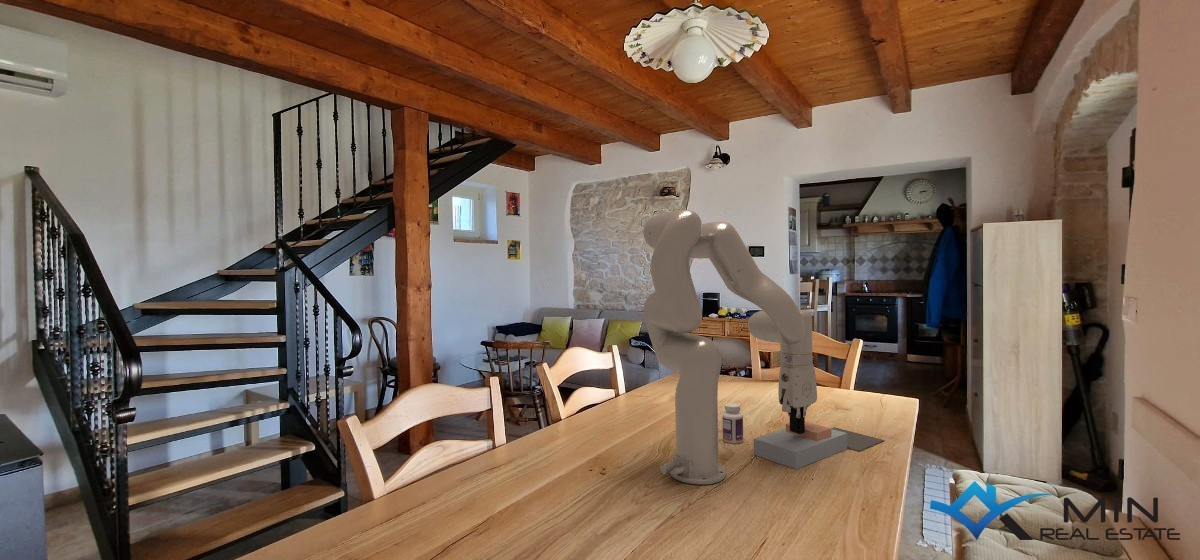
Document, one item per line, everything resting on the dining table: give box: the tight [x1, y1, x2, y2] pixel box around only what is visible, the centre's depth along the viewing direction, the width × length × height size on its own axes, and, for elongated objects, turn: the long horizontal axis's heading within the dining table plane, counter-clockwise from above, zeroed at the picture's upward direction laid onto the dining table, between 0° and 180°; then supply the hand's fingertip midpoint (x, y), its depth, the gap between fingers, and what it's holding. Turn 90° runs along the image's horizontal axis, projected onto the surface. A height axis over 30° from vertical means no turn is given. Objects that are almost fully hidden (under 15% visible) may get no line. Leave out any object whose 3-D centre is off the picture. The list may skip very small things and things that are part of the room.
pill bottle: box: [721, 402, 744, 444], centre depth 139 cm, size 5×5×10 cm
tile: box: [785, 420, 831, 441], centre depth 131 cm, size 6×9×2 cm, turn 33°
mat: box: [830, 426, 886, 453], centre depth 139 cm, size 13×14×1 cm
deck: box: [753, 427, 848, 470], centre depth 130 cm, size 22×12×4 cm, turn 125°
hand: (797, 431), depth 129 cm, fingers closed
